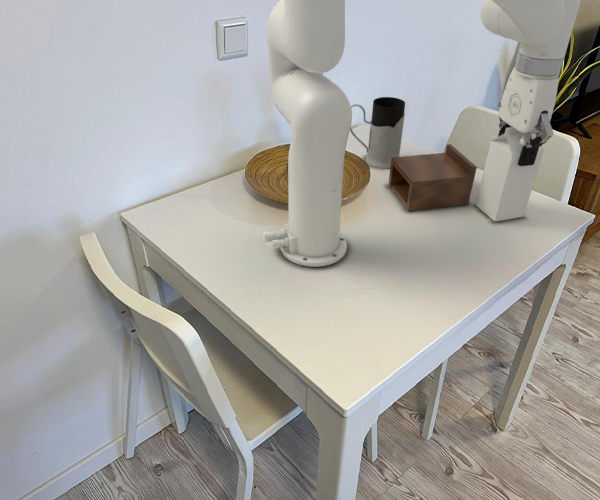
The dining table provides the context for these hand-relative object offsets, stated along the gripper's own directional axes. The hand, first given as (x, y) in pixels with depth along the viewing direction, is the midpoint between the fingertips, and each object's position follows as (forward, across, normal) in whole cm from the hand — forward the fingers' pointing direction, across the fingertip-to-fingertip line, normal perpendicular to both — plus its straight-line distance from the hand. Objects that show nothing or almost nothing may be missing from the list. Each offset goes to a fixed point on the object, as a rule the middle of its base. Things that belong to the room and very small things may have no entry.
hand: (514, 155), depth 102 cm
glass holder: (+13, -30, -18) cm, 37 cm away
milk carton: (+13, 0, 0) cm, 13 cm away
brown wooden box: (+13, -10, -12) cm, 20 cm away
